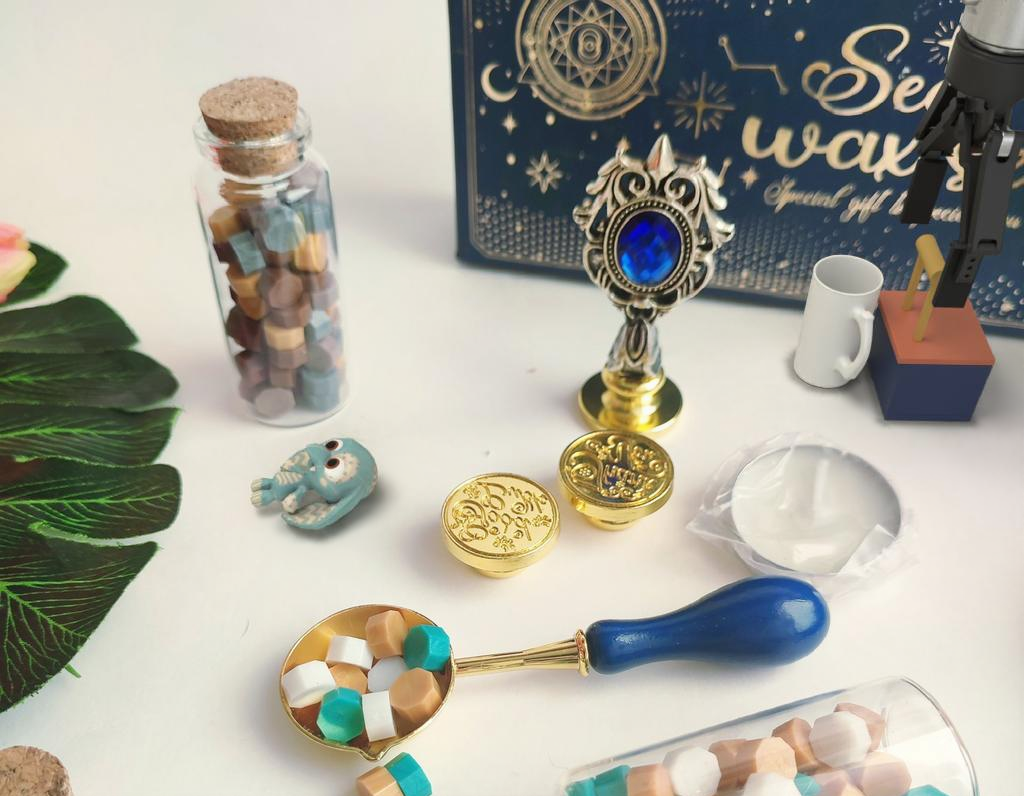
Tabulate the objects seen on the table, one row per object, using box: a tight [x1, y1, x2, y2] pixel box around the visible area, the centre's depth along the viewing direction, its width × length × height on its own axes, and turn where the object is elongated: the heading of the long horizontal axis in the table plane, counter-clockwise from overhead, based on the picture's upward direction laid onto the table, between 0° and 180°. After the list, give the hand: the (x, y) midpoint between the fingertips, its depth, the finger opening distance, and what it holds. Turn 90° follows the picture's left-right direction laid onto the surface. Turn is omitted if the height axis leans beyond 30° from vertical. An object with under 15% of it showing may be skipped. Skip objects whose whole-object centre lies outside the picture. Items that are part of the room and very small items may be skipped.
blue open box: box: [866, 304, 994, 422], centre depth 110 cm, size 9×11×7 cm
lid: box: [877, 233, 996, 366], centre depth 104 cm, size 9×11×9 cm
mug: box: [793, 254, 885, 389], centre depth 109 cm, size 10×7×12 cm, turn 12°
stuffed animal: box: [250, 437, 379, 531], centre depth 99 cm, size 11×7×12 cm
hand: (929, 262), depth 102 cm, fingers open, 13 cm apart
